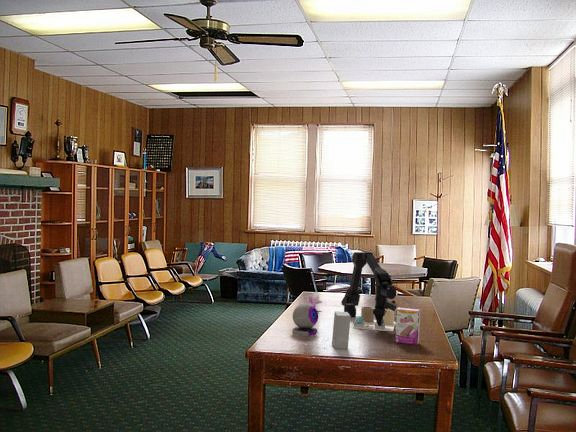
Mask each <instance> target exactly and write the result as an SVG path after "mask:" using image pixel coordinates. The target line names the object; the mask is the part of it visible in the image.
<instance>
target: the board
mask: <svg viewBox="0 0 576 432" xmlns="http://www.w3.org/2000/svg"><path fill="white" fill-rule="evenodd" d="M360 308H361V309H360V310H361V313H360V316H361V317H362V318H363V322H362V323H361V324H358V323H357V322H356V319H354V320H353V326H352V329H360V330H361V329H362V330H369V331H370V330H371V331H380V332H381V331H382V332H384V331H385V332H394V329H395V325H396V321H395V311H392V310H391V309H388V310H386V309H385V310H386V311H387V312H386V313H385V315H384V316H383V320H384V324H383V325H381V326H378V324H377V322H376V321H377V320H376V319H375V315H374V314H373V310H374V309H375V307H372V306H362V307H360Z"/></svg>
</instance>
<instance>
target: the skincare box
mask: <svg viewBox="0 0 576 432" xmlns="http://www.w3.org/2000/svg"><path fill="white" fill-rule="evenodd" d="M351 318H352V317H351V316H350V315H349V314H348V312H344V311H334V314H333V325H332V327H333V328H332V338H331V345H332V347H333V349H338V350H348V349H349V342H350V341H349V340H350V339H349V337H350V330H351V329H350V328H351Z"/></svg>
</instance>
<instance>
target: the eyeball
mask: <svg viewBox="0 0 576 432" xmlns="http://www.w3.org/2000/svg"><path fill="white" fill-rule="evenodd" d="M302 303H303V302H302ZM302 303H300V304H298V305H296V307H295V308H294V310H293V312H292V320H293V323H294V324H295V327H293V328H292V331H291V332H292V334H294V335H296V336H297V335H298V336H304V337H305V336H306V337H307V336H314V335H316V334H317V333H318V328H315V327H314V326H315V325H317V323H318V320H319V312H318V310H317V307H316V308H315V307H314V306H313V305H311V304H308V303H303V304H302Z"/></svg>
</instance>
